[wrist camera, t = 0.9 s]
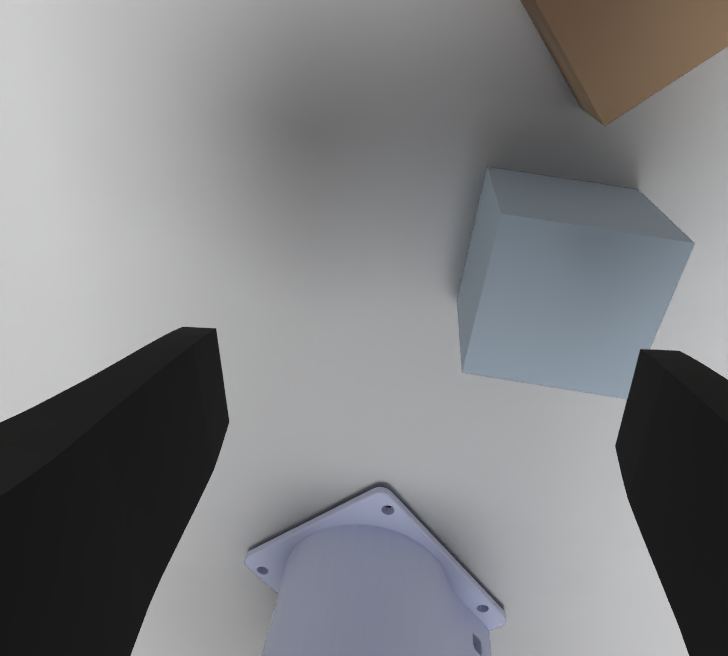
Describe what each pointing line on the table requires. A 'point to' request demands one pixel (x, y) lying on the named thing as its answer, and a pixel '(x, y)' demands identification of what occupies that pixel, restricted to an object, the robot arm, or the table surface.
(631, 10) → the plinth
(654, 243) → the cube
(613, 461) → the table surface
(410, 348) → the table surface
